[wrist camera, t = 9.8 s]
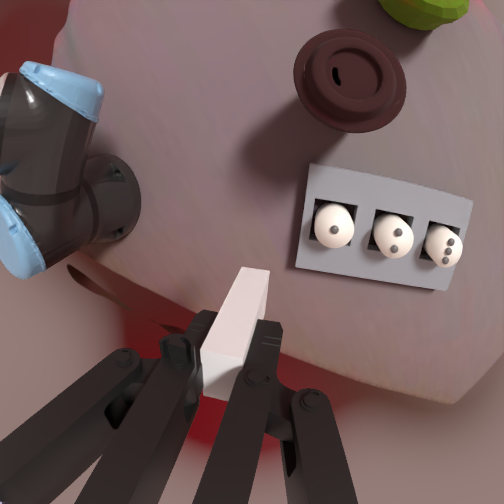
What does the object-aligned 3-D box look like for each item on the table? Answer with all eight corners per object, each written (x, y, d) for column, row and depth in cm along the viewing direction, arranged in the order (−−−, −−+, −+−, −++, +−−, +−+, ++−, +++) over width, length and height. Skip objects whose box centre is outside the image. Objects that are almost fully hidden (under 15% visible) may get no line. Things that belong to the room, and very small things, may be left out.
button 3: (418, 252, 35) (429, 265, 30) (426, 220, 33) (439, 230, 29) (444, 257, 34) (456, 271, 30) (453, 226, 32) (467, 237, 28)
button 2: (368, 243, 36) (374, 256, 32) (375, 209, 34) (383, 218, 30) (399, 248, 35) (408, 262, 31) (407, 216, 33) (418, 226, 29)
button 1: (312, 233, 37) (311, 245, 33) (317, 199, 36) (317, 207, 31) (346, 239, 37) (350, 252, 32) (352, 205, 35) (357, 213, 30)
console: (296, 260, 40) (295, 267, 38) (310, 162, 35) (309, 163, 33) (441, 283, 36) (446, 291, 34) (465, 197, 31) (473, 201, 28)
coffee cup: (386, 87, 28) (425, 57, 15) (359, 149, 33) (387, 153, 19) (317, 55, 29) (315, 5, 15) (290, 117, 33) (273, 100, 19)
